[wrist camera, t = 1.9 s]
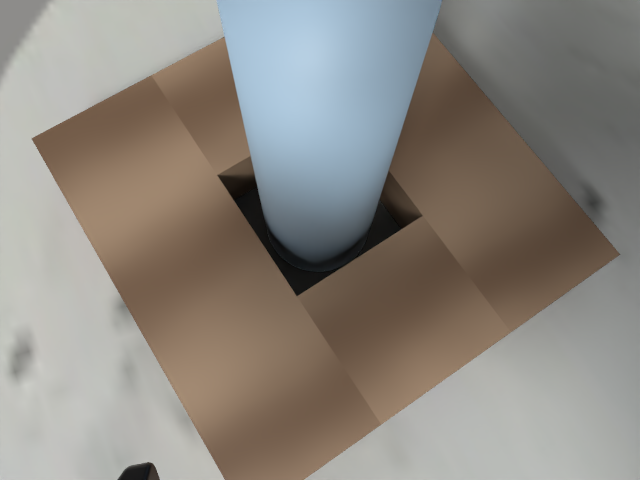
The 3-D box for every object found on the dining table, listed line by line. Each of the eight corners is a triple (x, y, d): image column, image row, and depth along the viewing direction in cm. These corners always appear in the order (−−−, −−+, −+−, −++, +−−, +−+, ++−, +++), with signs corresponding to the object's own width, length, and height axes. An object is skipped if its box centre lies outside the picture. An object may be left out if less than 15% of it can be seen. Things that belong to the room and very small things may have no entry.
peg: (389, 236, 24) (489, 9, 11) (302, 291, 23) (295, 120, 10) (332, 157, 25) (358, -138, 12) (246, 207, 24) (173, -48, 11)
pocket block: (582, 274, 24) (620, 254, 21) (256, 506, 21) (247, 519, 18) (364, 7, 28) (371, -41, 25) (63, 171, 25) (31, 138, 22)
